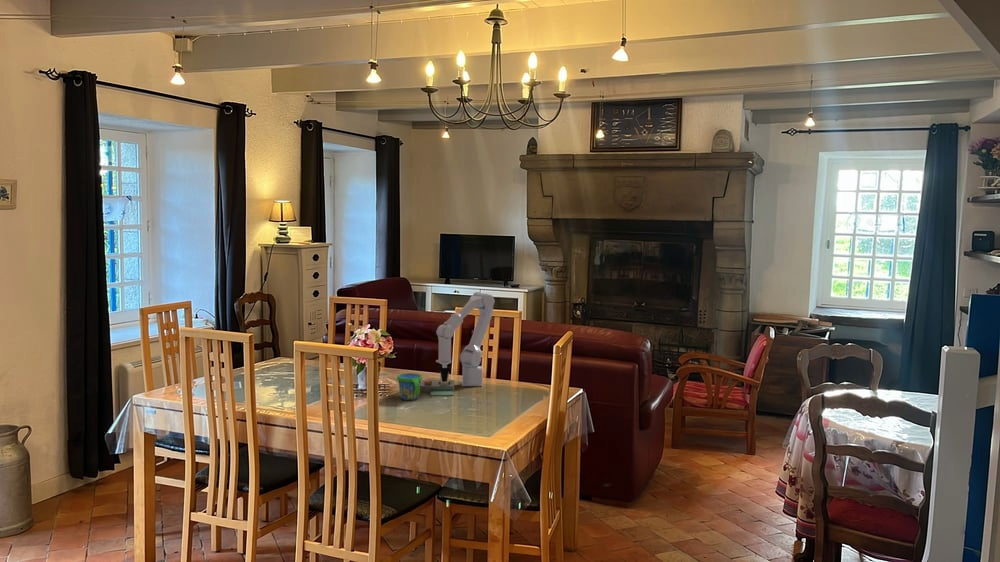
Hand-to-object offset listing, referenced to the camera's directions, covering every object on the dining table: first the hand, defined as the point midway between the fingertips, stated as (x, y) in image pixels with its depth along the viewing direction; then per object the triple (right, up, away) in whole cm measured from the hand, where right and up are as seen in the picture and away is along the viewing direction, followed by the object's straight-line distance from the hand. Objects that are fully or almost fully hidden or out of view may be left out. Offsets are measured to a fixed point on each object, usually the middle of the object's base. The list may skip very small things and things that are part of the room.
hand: (444, 380), depth 338 cm
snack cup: (-14, -6, -20) cm, 25 cm away
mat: (0, -5, -11) cm, 12 cm away
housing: (-3, -4, 0) cm, 5 cm away
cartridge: (0, -4, 0) cm, 4 cm away
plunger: (-8, -3, 0) cm, 8 cm away
